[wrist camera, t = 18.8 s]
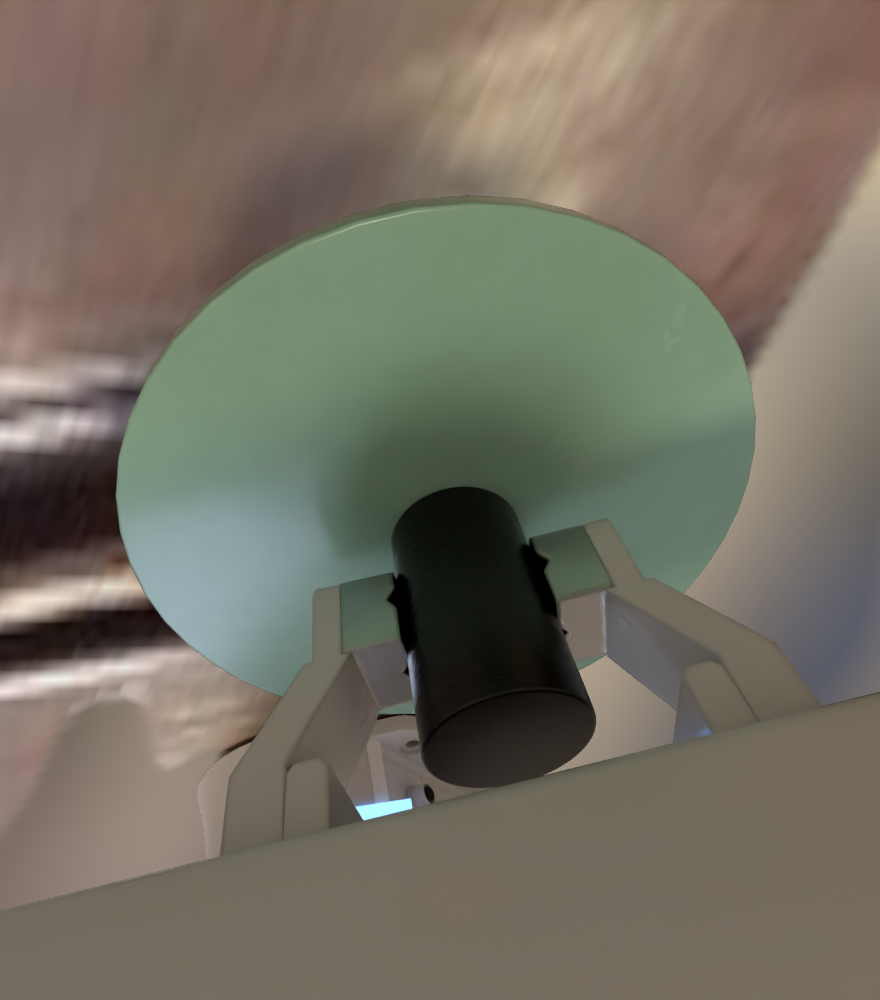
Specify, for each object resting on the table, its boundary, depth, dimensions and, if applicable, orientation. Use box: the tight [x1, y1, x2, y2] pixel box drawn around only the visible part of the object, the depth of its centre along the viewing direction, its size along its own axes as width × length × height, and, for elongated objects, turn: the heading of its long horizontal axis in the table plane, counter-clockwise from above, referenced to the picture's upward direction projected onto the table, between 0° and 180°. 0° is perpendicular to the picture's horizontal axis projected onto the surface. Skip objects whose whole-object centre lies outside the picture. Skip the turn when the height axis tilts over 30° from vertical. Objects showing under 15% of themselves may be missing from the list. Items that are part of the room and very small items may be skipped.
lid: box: [116, 195, 756, 788], centre depth 11 cm, size 12×12×6 cm
